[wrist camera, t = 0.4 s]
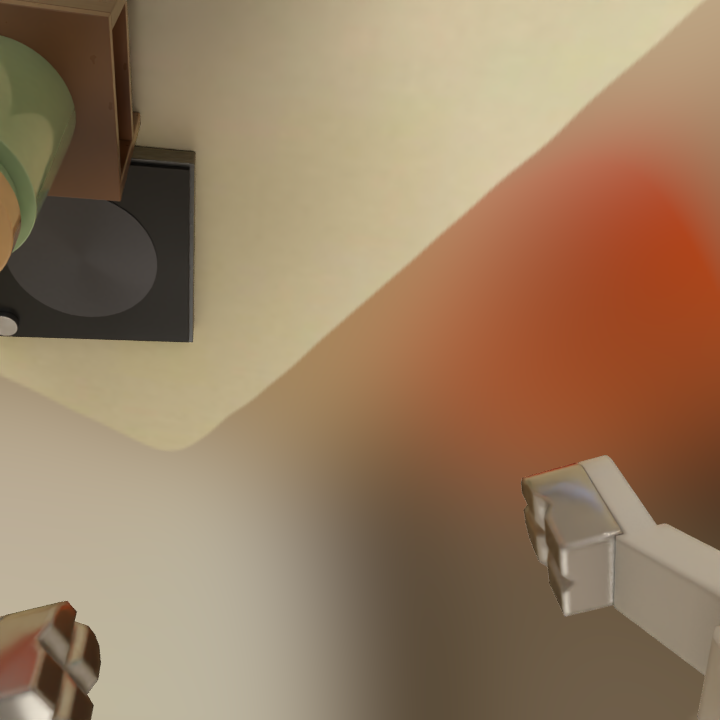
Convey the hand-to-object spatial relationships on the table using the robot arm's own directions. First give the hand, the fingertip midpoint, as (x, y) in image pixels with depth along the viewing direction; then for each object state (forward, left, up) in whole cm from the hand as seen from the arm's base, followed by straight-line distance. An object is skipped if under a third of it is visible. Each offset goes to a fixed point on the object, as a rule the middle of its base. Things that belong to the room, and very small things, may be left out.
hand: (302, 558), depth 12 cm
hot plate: (+16, -11, -38) cm, 43 cm away
